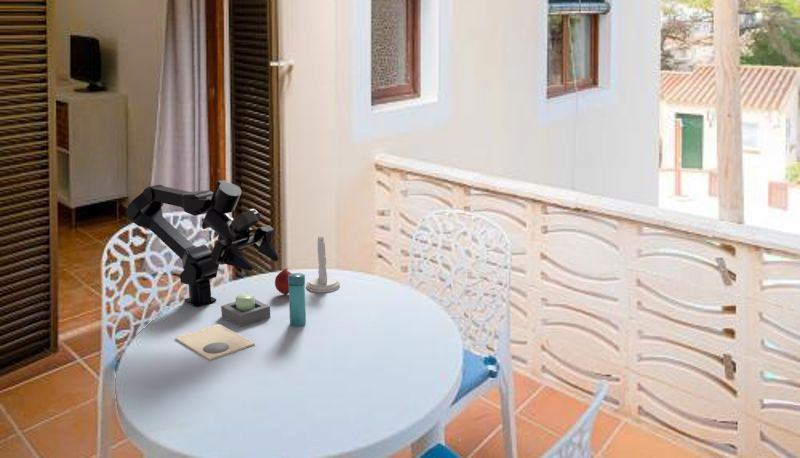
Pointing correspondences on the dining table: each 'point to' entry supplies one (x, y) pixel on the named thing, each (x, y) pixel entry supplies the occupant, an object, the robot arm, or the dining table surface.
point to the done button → (245, 302)
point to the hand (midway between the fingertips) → (265, 264)
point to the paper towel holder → (322, 273)
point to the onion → (282, 281)
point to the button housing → (245, 313)
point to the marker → (297, 299)
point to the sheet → (214, 341)
